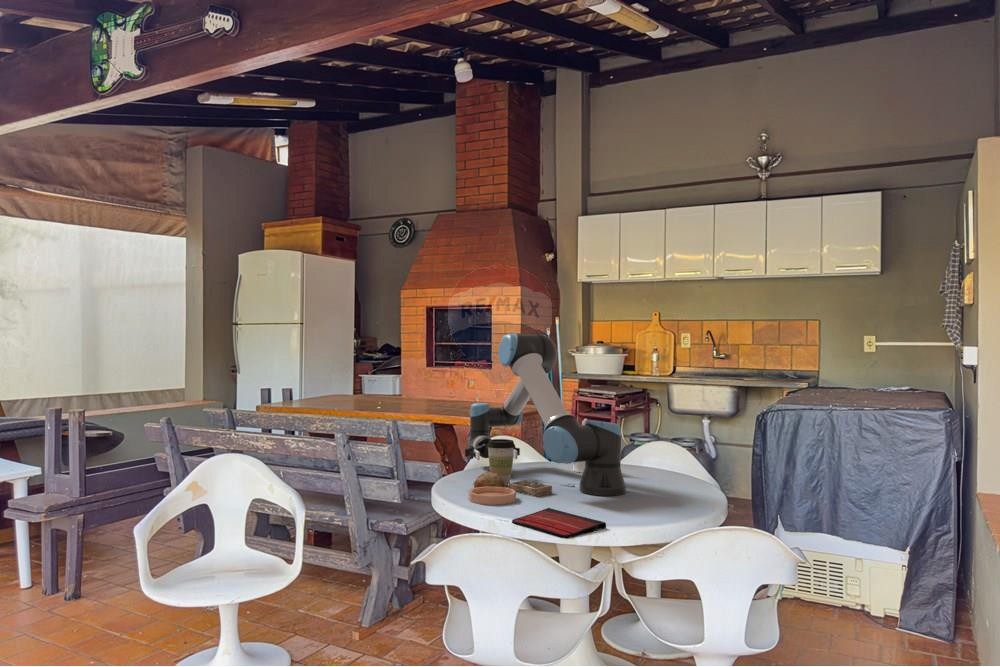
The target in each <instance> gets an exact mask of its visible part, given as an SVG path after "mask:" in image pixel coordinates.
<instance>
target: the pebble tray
mask: <svg viewBox="0 0 1000 667" xmlns="http://www.w3.org/2000/svg"><path fill="white" fill-rule="evenodd" d="M508 488H510V489H513V490H515V491H516V493H517V492H520V493H519V494H521V493H524V494H523V495H526V494H529V495H528V496H530V495H533V496H532V497H534V496H536V497H538V496H537V495H540V496H543V495H542V494H545V495H548V494H547V493H550V494H552V493H553V486H552V485H550V484H545V483H540V482H536V481H530V480H527V479H525V480H518V481H512V482H510V483H509V485H508Z"/></svg>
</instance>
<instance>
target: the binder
mask: <svg viewBox="0 0 1000 667" xmlns="http://www.w3.org/2000/svg"><path fill="white" fill-rule="evenodd" d="M511 524H513V525H516V526H521V527H525V528H529V529H532V530H535V531H536V530H537V531H539V532H543V533H546V534H551V535H552V536H553V537H557V538H561V539H568V538H574V537H577V536H578V537H579V536H581V535H587V534H591V533H595V532H597V531H599V530H597V529H596V528H600V529H607V523H606V522H605V521H602V520H598V519H594V518H589V517H586V516H582V515H577V514H573V513H569V512H565V511H562V510H560V509H559V510H558V509H554V508H551V507H547V508H543V509H542V510H538V511H535V512H532V513H530V514H526V515H524V516H520V517H517V518H514V519H512V520H511Z"/></svg>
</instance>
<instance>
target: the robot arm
mask: <svg viewBox="0 0 1000 667" xmlns="http://www.w3.org/2000/svg"><path fill="white" fill-rule="evenodd" d="M497 357H498V360H499V361H498V362H499V364H500V365H501V366H503V367H507V368H510V370H511V371H512V374H513V375H514V376H516V377H519V379H518V380H517V382H516V384H515V385H514V387H513V388H512V390H511V392H510V394H509V395H508V396H507V399H506V400H505V401H504V403H503V404H502V406H501V407H500V406H499V407H490V404H489V403H487V402H475V403H472V404H471V405H470V409H469V410H470V412H469V417H470V419H469V424H470V431H469V436H468V441H467V444H468V447H467V448H465V449H464V457H466V458H468V457H469V458H470V459H471V460H474V459H476V460H477V461H480V457H481V458H483V459H489V456H488V454H489V451H488V447H487V444H488V442H489V440H492V438H490V428H493V427H513V426H518V425H520V424H521V423H522V422H523V418H524V415H523V409H524V408H525V406H526V405H527V403H528V402H529V400H530V399H531V401H532V403H533V405H534V406H535V408H536V411H537V412H538V415H539V416H540V418H541V420H542V422H543V424H544V428H543V435H542V443H543V445H542V447H543V448H542V449H543V451H544V453H545V455H546V456H547V457H548V458H549V459H550V461H552V462H554V463H556V464H566V465H567V464H568V465H569V464H572V463H574V462H583V461H585V469H584V472H583V473H582V475H581V479H580V482H579V491H580V492H581V493H583V494H587V495H592V496H607V497H608V496H620V495H624V494H626V492H627V491H626V490H627V488H626V482H625V479H624V474H623V472H622V466H621V461H622V460H621V458H622V457H621V452H622V450H621V449H622V435H621V434H622V430H621V426H620V424H618V423H615V422H614V423H613V422H609V421H608V422H607V421H601V420H593V419H592V420H591V419H587V420H586V423H585V425H582V424H580V423H579V421H578V420H577V418H576V417H577V416H575V415H574V414H571V413H570V414H569V413H568V411H567V409H566V407H565V405H564V403H563V401H562V400H561V398H560V396H559V394H558V393H557V391H556V389H555V387H554V385H553V383H552V382H551V380H550V378H549V376H548V374H550V373H551V371H552V370H553V368H554V367H555V365H556V362H557V359H558V348H557V346H556V344H555V343H554V341H553V339H552V338H550V337H549V336H548V335H545V334H542V333H516V332H513V333H507V334H505V335H504V336H502V338H501V339H500V342H499V345H498V351H497ZM513 455H514V456H513V460H518V456H520V455H521V448H520V447H516V446H515V447H514V452H513Z"/></svg>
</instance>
